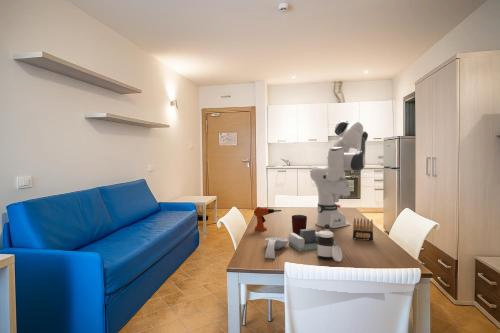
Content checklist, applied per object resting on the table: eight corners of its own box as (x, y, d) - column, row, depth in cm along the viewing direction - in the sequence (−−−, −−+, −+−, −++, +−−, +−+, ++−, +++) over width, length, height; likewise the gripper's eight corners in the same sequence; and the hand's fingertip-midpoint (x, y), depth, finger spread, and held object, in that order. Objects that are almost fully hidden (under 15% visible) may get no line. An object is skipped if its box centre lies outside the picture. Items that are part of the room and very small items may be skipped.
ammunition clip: (352, 239, 164) (353, 218, 163) (352, 238, 165) (353, 217, 165) (373, 240, 160) (373, 219, 160) (372, 239, 162) (373, 218, 161)
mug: (290, 231, 180) (291, 213, 179) (305, 231, 179) (305, 213, 178) (292, 236, 168) (292, 218, 167) (307, 237, 167) (307, 218, 166)
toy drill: (282, 231, 174) (279, 206, 174) (253, 231, 182) (251, 208, 181) (284, 229, 179) (282, 205, 179) (256, 229, 186) (253, 206, 186)
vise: (324, 239, 162) (324, 229, 162) (336, 245, 152) (336, 234, 151) (288, 244, 155) (288, 233, 155) (298, 250, 145) (298, 239, 144)
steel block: (312, 241, 155) (312, 228, 155) (315, 242, 152) (315, 229, 152) (299, 242, 153) (299, 229, 152) (302, 244, 150) (302, 231, 149)
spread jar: (317, 252, 143) (318, 229, 142) (341, 254, 139) (342, 231, 139) (316, 261, 131) (316, 236, 130) (342, 264, 128) (342, 238, 127)
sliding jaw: (323, 236, 162) (323, 221, 161) (335, 242, 152) (335, 226, 151) (308, 238, 159) (308, 222, 158) (319, 244, 148) (319, 228, 148)
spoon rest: (267, 242, 159) (267, 229, 158) (289, 244, 156) (289, 230, 155) (258, 258, 136) (258, 243, 135) (283, 260, 133) (283, 245, 132)
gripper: (353, 178, 149) (353, 205, 150) (330, 174, 168) (329, 198, 169) (343, 179, 147) (342, 206, 148) (320, 175, 166) (320, 199, 167)
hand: (335, 201), depth 159 cm, fingers closed
